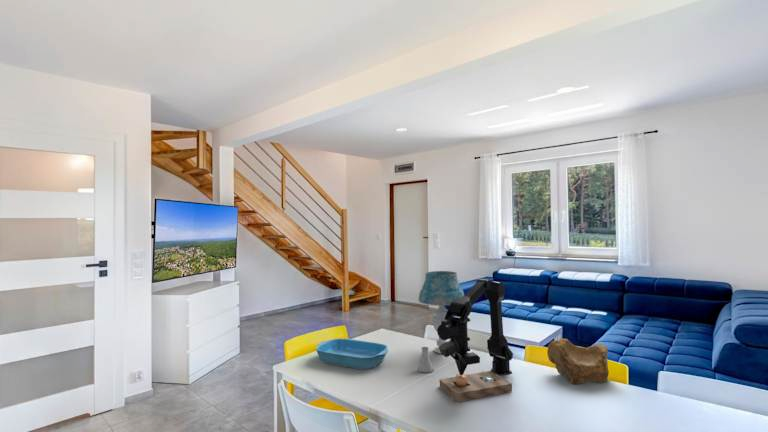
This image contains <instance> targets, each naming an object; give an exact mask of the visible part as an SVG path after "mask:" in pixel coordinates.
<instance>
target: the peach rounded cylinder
mask: <svg viewBox="0 0 768 432" xmlns="http://www.w3.org/2000/svg"><path fill="white" fill-rule="evenodd" d="M467 375H468V374H465V373H464V374H463V375H460V374H459V373H457V374H455V377H456V385H457V386H460V387H464V386H467Z"/></svg>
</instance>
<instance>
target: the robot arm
mask: <svg viewBox="0 0 768 432" xmlns="http://www.w3.org/2000/svg"><path fill="white" fill-rule="evenodd" d="M505 292H506V286H505V284H504V283H503V282H500V281H494V280H492V281H491V280H490V279H486V278H479V279H477V280H476V282H475V283H474V284H473V286H471V288H470V289H469V290H468V291H466V293H464V296H463V297H461V298H458V299H456V300H454V301H453V302H451V304H450V305H448V306H449V307H448V309H447V310H448V311H447V313H446V316H445V320H446V321H441V325H439V327H438V329H437V331H436V332H437V335H438V338H439V337H440V338H441V339H442V340H447V339H448V340H449V341H448V342H446V343H444V344H442V345H440V346H439V349H440V352H441V354H440V355H442V356H444V357H445V358H448V357H451V358H452V359H453V360H454V362H455V364H456V367H457V371H458V374H460V375H463V374H465V371H466V370H467V367H468V365H475V364H480V363H481V357H480V356H479V355H478V354H477V353H475V352H471V348H470V347H469V341H471V338H470V336H469V335H468V332H469V331H468V323H469V322H471V319H470V318H469V316H470V315H471V312H472V311H473V305H474V304H475V303H476V302H477V301H478V300H479V298H481V297H482V296H483V294H484V296H485V298H486V300H487V301H488V303H489V315H490V337H489V338H488V339H487V340H486V343H487V348H486V349H487V350H488V354H489V355H488V356H489V357H491V358H492V361H491V362H492V363H491V364H492V368H491V369H490V371H492V372H494V373H495V374H497V375H499V376H503V375H508V374H512V373H513V372H512V370H511V369H510V361H512V359H514V358H513V356H514V353H513V351H512V350H511V349H510V347H509V343H508V340H507V339H506V336H505V335H504V326H503V324H504V323H503V311H502V310H503V309H502V308H503V306H502V301H503V300H504V298H505V294H506V293H505Z"/></svg>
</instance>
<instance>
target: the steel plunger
mask: <svg viewBox="0 0 768 432" xmlns="http://www.w3.org/2000/svg"><path fill="white" fill-rule="evenodd" d="M482 380H483V381H485V382H486V383H487V382H492V381H494V378H493V377H492V376H483V377H482Z"/></svg>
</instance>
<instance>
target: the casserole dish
mask: <svg viewBox="0 0 768 432" xmlns="http://www.w3.org/2000/svg"><path fill="white" fill-rule="evenodd" d="M315 350H316V354H317V356H318V358H319V360H320V361H321V362H323V363H324V364H328V365H333V366H339V367H344V368H350V369H357V370H364V371H365V370H370V369H373V368H375V367H377V366H378V365H379V364H381V363H382V361H383V360H385V357H386V354H387V353H389V349H388V345H386V344H383V343H380V342H379V343H378V342H374V341H373V342H372V341H366V340H357V339H351V338H341V337H340V338H332V339H330V340H329V339H328V340H324V341H321V342H319V343H318V344H317V346H316V348H315Z"/></svg>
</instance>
